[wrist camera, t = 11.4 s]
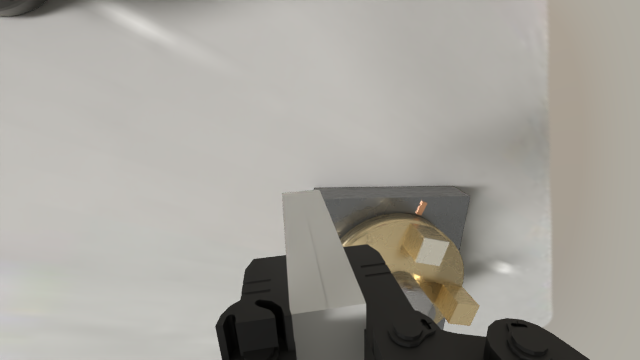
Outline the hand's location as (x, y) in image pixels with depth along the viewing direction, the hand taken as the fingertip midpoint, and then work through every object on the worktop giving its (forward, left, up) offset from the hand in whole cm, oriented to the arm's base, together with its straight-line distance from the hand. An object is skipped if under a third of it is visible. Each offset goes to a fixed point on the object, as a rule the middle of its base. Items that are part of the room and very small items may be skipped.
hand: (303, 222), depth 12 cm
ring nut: (+14, -19, -22) cm, 33 cm away
